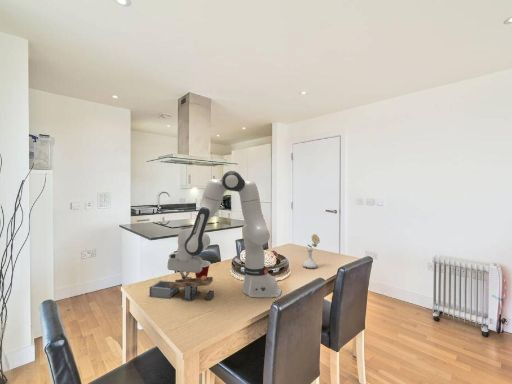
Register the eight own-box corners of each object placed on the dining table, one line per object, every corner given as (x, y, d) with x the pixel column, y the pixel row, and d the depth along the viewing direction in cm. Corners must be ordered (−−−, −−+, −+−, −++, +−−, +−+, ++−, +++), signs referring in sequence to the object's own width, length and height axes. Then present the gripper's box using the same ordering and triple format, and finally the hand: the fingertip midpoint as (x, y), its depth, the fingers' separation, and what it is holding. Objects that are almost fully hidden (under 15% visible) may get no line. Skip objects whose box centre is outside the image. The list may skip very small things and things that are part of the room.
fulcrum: (200, 292, 143) (200, 279, 143) (192, 301, 133) (192, 287, 132) (190, 291, 145) (190, 278, 144) (181, 300, 134) (181, 286, 134)
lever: (217, 276, 147) (216, 272, 147) (208, 285, 133) (207, 281, 133) (182, 279, 151) (181, 275, 151) (169, 288, 137) (169, 284, 137)
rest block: (213, 296, 139) (213, 290, 139) (210, 300, 134) (210, 294, 134) (209, 296, 139) (209, 290, 139) (206, 300, 134) (206, 294, 134)
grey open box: (178, 290, 145) (179, 282, 145) (169, 298, 136) (169, 289, 135) (159, 289, 148) (159, 280, 148) (149, 296, 138) (149, 287, 138)
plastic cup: (197, 286, 152) (197, 266, 152) (190, 281, 161) (190, 262, 161) (213, 282, 159) (213, 263, 158) (205, 277, 167) (205, 259, 167)
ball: (208, 277, 138) (203, 273, 139) (206, 279, 135) (201, 275, 136) (205, 281, 139) (201, 278, 139) (203, 283, 135) (198, 280, 136)
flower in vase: (306, 270, 185) (306, 235, 184) (299, 265, 196) (300, 232, 195) (322, 268, 188) (323, 235, 187) (315, 264, 199) (315, 232, 199)
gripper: (204, 255, 148) (203, 278, 148) (172, 252, 151) (171, 275, 152) (200, 258, 141) (199, 282, 142) (166, 254, 145) (165, 278, 145)
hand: (184, 278), depth 147 cm, fingers closed
